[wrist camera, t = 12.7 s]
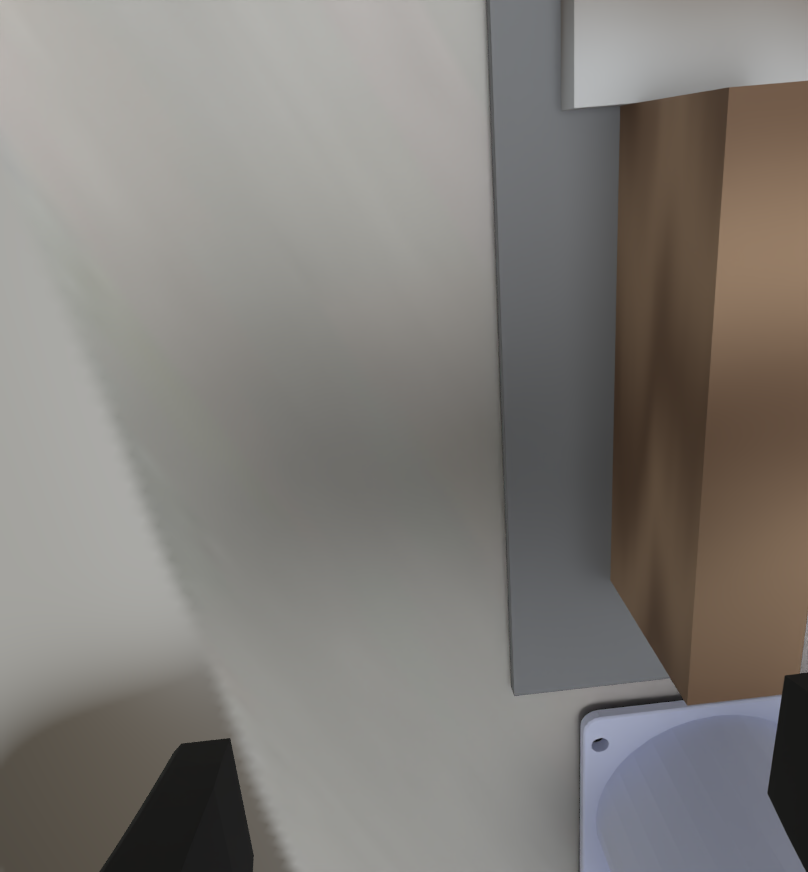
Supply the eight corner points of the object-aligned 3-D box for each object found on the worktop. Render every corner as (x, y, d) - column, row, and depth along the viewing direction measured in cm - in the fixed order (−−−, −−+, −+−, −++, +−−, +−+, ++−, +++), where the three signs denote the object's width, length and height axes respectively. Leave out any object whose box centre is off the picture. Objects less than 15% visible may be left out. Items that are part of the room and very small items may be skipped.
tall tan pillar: (741, 566, 21) (856, 685, 16) (563, 585, 21) (626, 712, 16) (808, -152, 15) (1019, -290, 10) (559, -134, 15) (658, -267, 10)
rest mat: (775, 656, 22) (782, 665, 22) (511, 686, 22) (514, 696, 22) (878, -213, 15) (891, -222, 15) (479, -184, 15) (483, -194, 14)
